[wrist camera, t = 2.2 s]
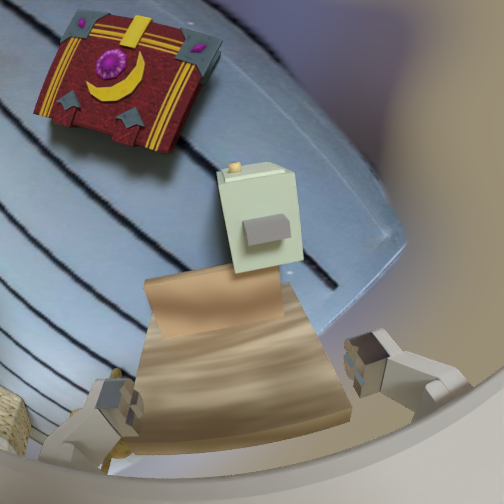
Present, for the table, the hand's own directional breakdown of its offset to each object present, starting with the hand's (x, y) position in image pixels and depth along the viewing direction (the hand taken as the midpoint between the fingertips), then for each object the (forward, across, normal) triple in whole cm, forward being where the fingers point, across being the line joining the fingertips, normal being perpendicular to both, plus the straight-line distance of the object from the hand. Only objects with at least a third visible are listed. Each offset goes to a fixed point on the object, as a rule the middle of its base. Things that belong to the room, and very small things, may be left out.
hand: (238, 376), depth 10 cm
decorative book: (+21, +7, -17) cm, 28 cm away
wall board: (+21, +2, +7) cm, 22 cm away
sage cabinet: (+21, -3, -2) cm, 21 cm away
